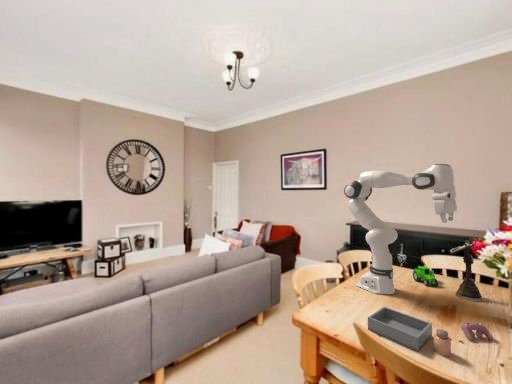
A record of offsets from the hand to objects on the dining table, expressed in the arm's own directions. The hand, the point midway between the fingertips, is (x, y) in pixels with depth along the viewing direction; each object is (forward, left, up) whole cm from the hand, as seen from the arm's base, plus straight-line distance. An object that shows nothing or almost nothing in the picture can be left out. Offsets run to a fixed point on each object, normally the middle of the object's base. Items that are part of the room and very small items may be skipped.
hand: (447, 221), depth 126 cm
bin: (-8, -40, -46) cm, 61 cm away
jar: (+8, -41, -46) cm, 62 cm away
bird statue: (0, +27, -46) cm, 54 cm away
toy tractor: (-21, +35, -47) cm, 62 cm away
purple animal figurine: (+14, -19, -46) cm, 52 cm away
